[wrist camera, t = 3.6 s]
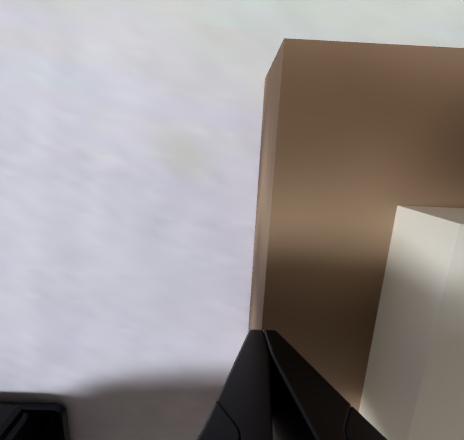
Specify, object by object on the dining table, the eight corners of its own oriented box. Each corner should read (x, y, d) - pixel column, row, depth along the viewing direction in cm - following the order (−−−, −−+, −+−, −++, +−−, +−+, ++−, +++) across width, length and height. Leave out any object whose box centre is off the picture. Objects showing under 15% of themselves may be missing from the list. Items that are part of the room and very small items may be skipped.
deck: (482, 428, 16) (565, 517, 12) (242, 422, 16) (246, 512, 12) (589, 95, 12) (770, 65, 8) (265, 78, 11) (284, 38, 7)
